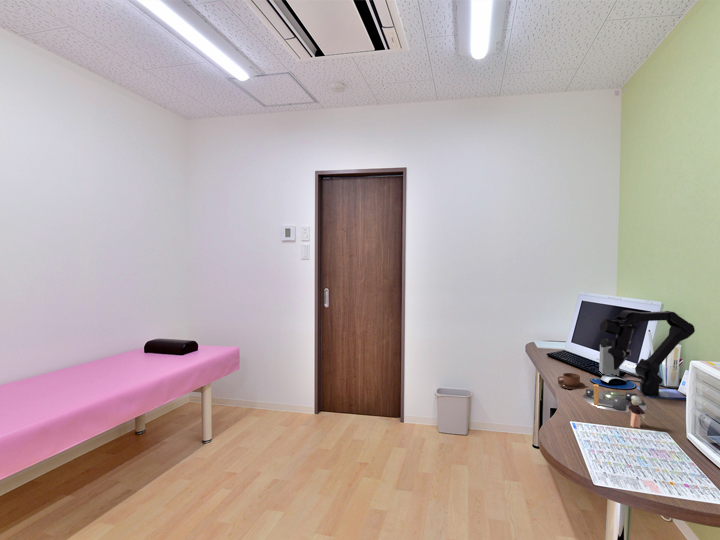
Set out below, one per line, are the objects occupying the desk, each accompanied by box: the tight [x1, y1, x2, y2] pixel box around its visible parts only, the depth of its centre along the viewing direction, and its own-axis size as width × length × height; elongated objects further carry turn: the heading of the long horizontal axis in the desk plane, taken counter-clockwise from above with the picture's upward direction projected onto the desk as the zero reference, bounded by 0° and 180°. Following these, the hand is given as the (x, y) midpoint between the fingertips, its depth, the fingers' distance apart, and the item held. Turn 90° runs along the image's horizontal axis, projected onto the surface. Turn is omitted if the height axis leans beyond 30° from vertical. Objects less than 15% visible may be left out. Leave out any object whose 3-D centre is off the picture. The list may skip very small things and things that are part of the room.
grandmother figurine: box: [627, 395, 647, 429], centre depth 150 cm, size 8×4×13 cm, turn 21°
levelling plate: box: [582, 388, 648, 413], centre depth 175 cm, size 24×24×5 cm
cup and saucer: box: [557, 372, 586, 390], centre depth 197 cm, size 12×12×6 cm
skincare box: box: [598, 344, 620, 377], centre depth 215 cm, size 8×7×16 cm
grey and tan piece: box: [593, 383, 627, 410], centre depth 168 cm, size 12×5×8 cm, turn 58°
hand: (615, 369), depth 186 cm, fingers closed
